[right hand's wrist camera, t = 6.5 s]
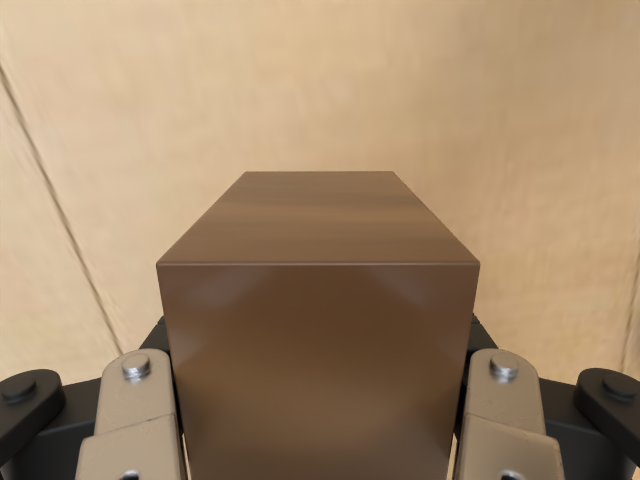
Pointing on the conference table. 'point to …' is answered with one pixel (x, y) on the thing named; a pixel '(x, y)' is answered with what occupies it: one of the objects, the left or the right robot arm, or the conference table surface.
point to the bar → (318, 330)
